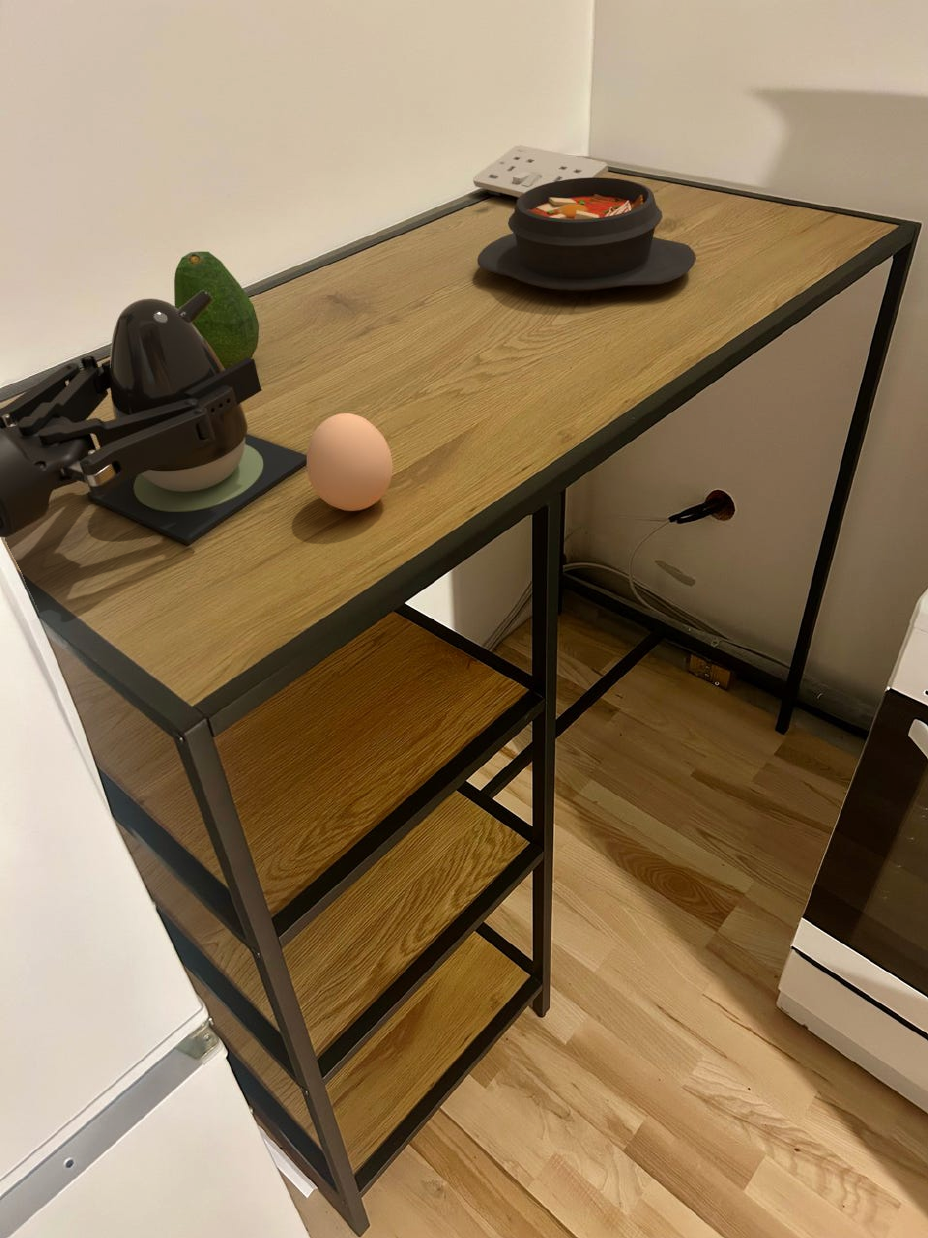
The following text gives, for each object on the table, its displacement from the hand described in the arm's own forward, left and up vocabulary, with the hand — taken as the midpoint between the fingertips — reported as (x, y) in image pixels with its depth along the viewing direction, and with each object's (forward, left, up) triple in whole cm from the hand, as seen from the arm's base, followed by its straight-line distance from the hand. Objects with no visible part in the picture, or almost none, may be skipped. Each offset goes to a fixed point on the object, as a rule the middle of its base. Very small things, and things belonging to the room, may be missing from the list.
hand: (211, 360), depth 76 cm
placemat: (0, -4, -9) cm, 10 cm away
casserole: (+6, +49, -9) cm, 50 cm away
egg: (+14, 0, -9) cm, 17 cm away
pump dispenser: (0, -4, -9) cm, 10 cm away
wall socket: (-14, +70, -9) cm, 72 cm away
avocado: (-14, +12, -9) cm, 20 cm away
